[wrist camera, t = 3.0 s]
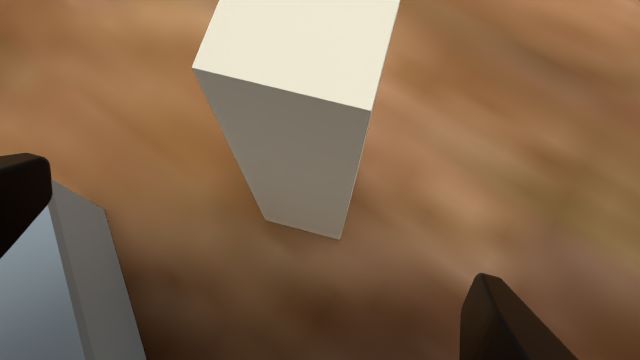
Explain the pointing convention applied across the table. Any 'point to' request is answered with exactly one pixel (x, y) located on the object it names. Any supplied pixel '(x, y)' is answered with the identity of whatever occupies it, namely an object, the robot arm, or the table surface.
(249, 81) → the post
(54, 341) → the grey thick square frame
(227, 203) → the table surface
